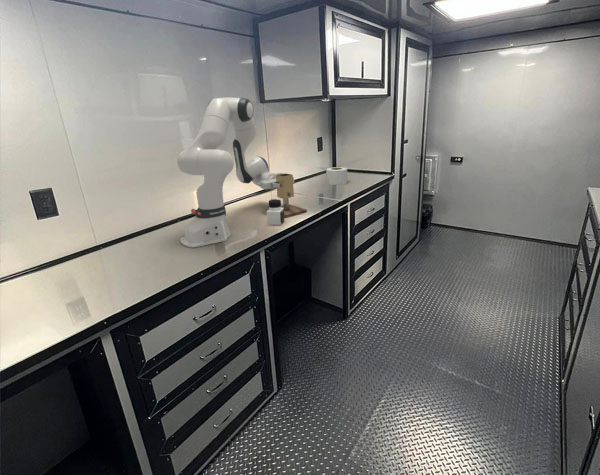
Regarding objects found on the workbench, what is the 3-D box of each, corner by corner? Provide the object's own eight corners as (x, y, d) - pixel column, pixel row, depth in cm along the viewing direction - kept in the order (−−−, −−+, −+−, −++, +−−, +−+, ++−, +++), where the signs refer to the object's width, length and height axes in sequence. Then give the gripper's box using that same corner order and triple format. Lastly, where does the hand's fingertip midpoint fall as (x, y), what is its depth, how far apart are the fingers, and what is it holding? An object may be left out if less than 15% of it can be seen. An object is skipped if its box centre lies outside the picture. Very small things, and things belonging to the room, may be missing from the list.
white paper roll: (332, 186, 248) (331, 171, 245) (323, 182, 262) (322, 168, 258) (350, 183, 254) (351, 168, 250) (341, 180, 267) (341, 166, 263)
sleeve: (285, 199, 182) (284, 176, 178) (276, 196, 188) (274, 175, 183) (294, 196, 186) (293, 174, 181) (285, 194, 191) (284, 173, 187)
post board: (283, 218, 179) (282, 199, 175) (266, 212, 191) (264, 195, 187) (306, 212, 188) (306, 194, 185) (288, 206, 200) (288, 190, 197)
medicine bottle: (281, 225, 169) (279, 201, 164) (267, 225, 170) (265, 201, 166) (284, 220, 175) (283, 198, 171) (271, 220, 177) (269, 197, 172)
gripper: (254, 178, 186) (269, 181, 176) (284, 172, 198) (300, 175, 188) (255, 189, 189) (270, 193, 179) (285, 183, 201) (300, 186, 191)
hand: (285, 184), depth 184 cm, fingers closed on sleeve, 6 cm apart
